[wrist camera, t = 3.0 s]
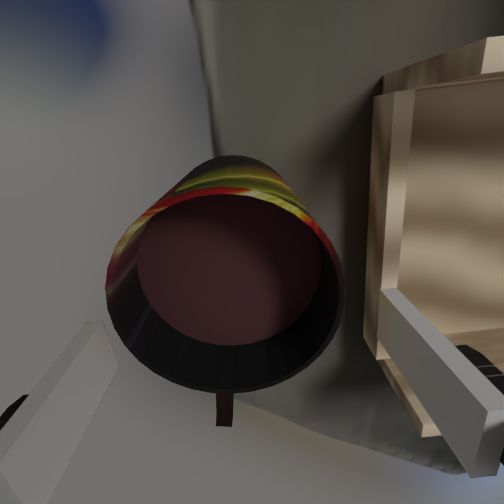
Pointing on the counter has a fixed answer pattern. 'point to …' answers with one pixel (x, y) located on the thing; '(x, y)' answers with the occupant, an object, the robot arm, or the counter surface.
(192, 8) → the counter surface
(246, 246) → the mug
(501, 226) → the open wooden box
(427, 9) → the counter surface
